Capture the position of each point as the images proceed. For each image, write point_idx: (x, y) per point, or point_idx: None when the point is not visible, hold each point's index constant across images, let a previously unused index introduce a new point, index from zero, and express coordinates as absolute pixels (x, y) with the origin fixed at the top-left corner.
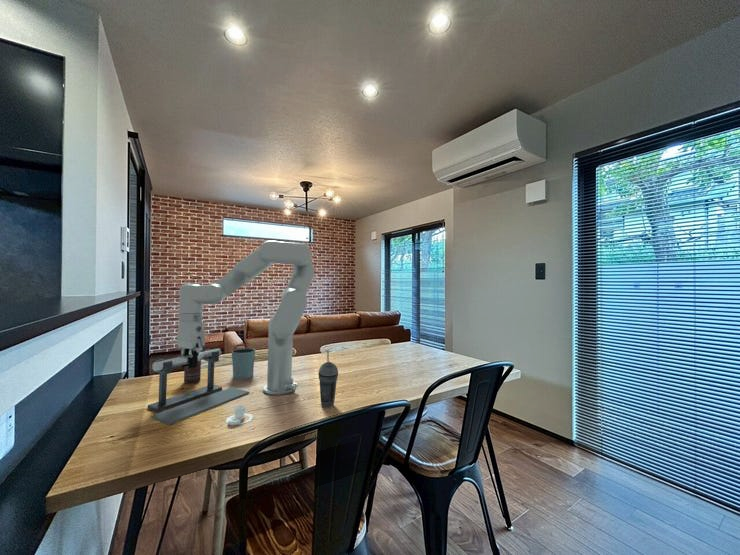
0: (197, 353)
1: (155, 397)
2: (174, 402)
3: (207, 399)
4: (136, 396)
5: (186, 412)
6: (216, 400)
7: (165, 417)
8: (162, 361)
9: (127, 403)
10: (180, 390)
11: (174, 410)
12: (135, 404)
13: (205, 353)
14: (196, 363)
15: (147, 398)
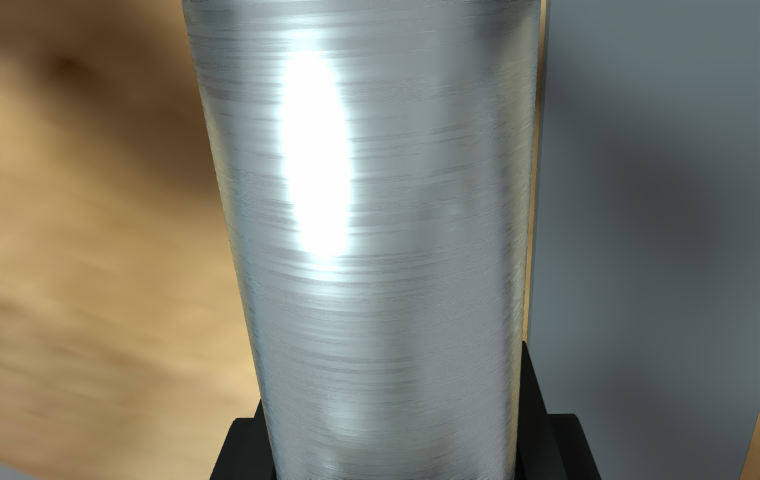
0: None
1: (156, 318)
2: None
3: (637, 134)
4: (29, 376)
5: (703, 368)
6: (751, 98)
7: (635, 463)
8: None
9: (145, 452)
10: (119, 118)
11: (584, 390)
12: (205, 437)
13: (495, 227)
14: (579, 429)
15: (135, 356)
